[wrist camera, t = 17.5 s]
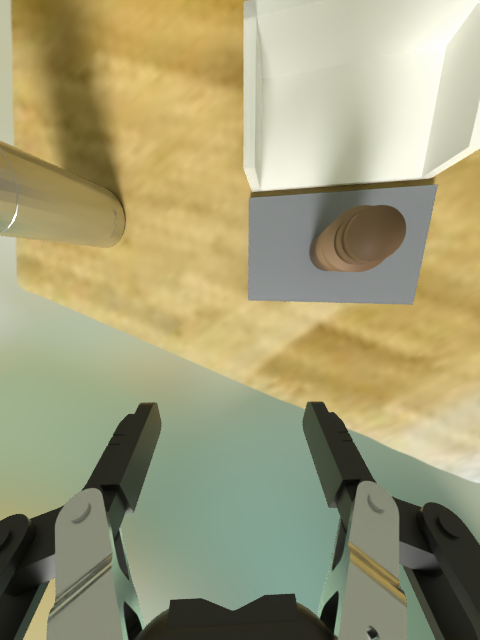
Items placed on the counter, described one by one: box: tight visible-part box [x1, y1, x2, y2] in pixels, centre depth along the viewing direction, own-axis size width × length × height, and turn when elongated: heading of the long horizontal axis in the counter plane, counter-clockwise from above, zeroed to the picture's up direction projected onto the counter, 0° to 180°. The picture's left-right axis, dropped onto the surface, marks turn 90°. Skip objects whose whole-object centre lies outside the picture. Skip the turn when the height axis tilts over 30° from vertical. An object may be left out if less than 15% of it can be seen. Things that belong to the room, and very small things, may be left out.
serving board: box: [248, 185, 438, 305], centre depth 28 cm, size 22×14×1 cm, turn 91°
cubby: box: [244, 0, 480, 192], centre depth 21 cm, size 21×13×7 cm, turn 91°
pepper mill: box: [309, 205, 406, 272], centre depth 21 cm, size 5×5×14 cm
